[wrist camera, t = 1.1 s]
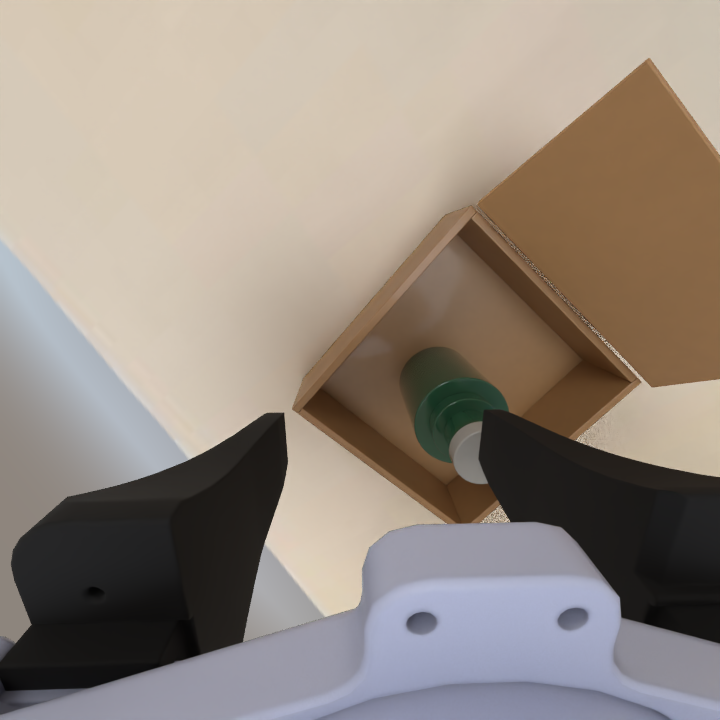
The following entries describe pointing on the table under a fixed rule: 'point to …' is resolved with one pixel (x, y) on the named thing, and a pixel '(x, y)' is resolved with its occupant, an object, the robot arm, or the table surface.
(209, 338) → the table surface
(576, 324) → the carton
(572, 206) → the flap
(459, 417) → the bottle
